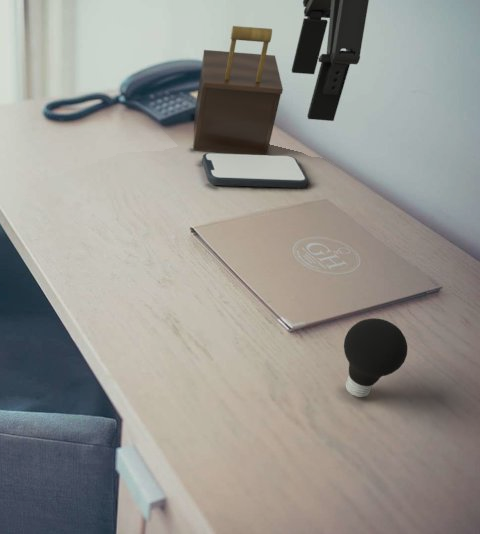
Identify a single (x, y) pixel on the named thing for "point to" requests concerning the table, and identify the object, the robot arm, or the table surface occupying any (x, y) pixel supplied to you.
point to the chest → (233, 120)
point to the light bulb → (372, 353)
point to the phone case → (253, 170)
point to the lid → (243, 65)
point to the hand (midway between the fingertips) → (310, 94)
